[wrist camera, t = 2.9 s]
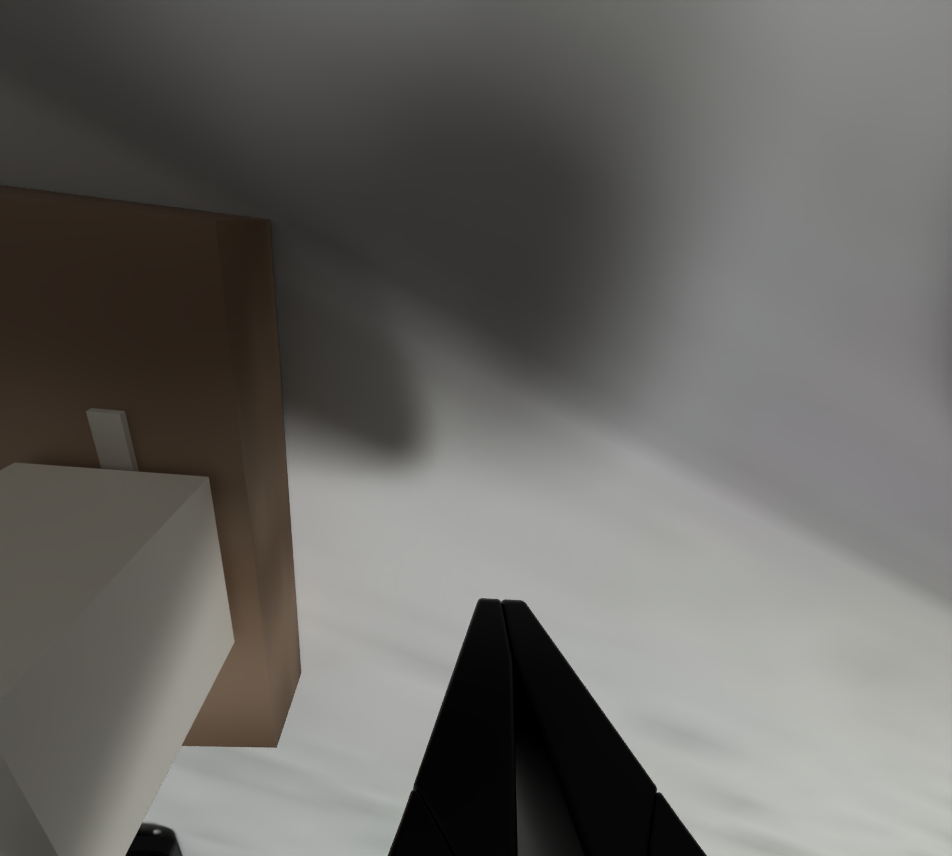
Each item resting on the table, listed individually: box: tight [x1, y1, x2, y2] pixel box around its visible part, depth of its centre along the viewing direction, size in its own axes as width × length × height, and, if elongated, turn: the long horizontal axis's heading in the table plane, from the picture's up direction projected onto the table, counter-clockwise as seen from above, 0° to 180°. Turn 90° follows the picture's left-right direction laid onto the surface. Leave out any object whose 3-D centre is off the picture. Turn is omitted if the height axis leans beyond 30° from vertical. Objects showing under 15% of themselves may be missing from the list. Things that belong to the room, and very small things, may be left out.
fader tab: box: [0, 463, 235, 856], centre depth 6 cm, size 4×3×4 cm
